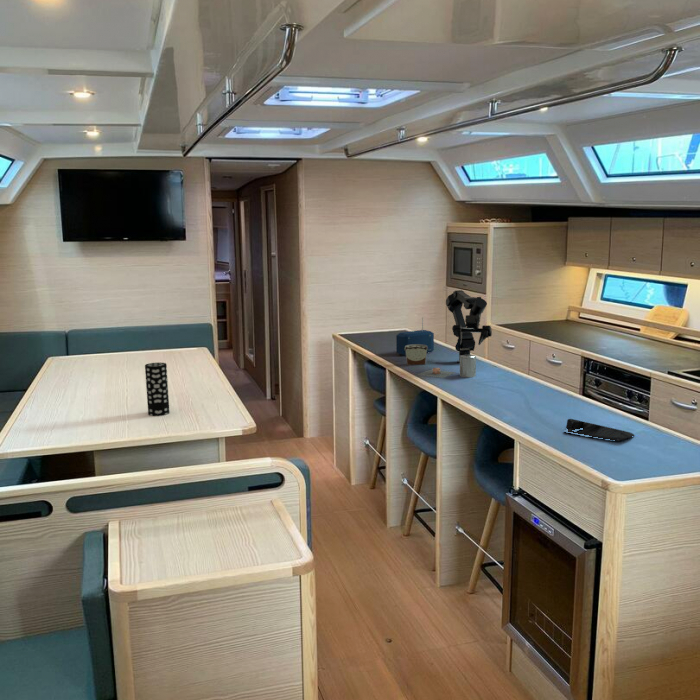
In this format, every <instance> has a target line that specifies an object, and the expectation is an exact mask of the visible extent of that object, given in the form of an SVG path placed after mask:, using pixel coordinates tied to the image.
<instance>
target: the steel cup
mask: <svg viewBox="0 0 700 700" xmlns="http://www.w3.org/2000/svg"><path fill="white" fill-rule="evenodd" d="M476 369H477V355H475V354H471V353H470V354H465V355H460V363H459V376H460V377H461V378H475V377H477V375H476V374H477V373H476V372H477V370H476Z"/></svg>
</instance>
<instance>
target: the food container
mask: <svg viewBox="0 0 700 700" xmlns="http://www.w3.org/2000/svg"><path fill="white" fill-rule="evenodd" d="M404 350H405V351H406V356H405V358H406V359H405V360H406V366H413V365H415V366H416V365H420V366H421V365H426V363H427V362H426V361H427V354H428V353H427V350H428V347H427V346H426V345H421V344H411V345H406V346H405V348H404Z"/></svg>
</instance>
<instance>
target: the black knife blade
mask: <svg viewBox="0 0 700 700" xmlns="http://www.w3.org/2000/svg"><path fill="white" fill-rule="evenodd" d="M566 420H567V421H566V426H565V429H566V428H567V429H568V432H573V433H578V434H584V435H589V436H592V437H598V438H603V439H610V440H615V441H618V442H620V440H621V441H625V440H628V439H627V438H629V439H631V437H632V436H635V434H634V433H633V432H630V431H626V430H622V429H617V428H613V427H610V426H609V427H608V426H604V425H600V424H595V423H591V422H587V421H583V420H582V421H581V420H577V419H573V418H568V419H566ZM580 428H583V430H582V431H579V432H574V431H572V430H575V429H580ZM632 438H633V437H632Z"/></svg>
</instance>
